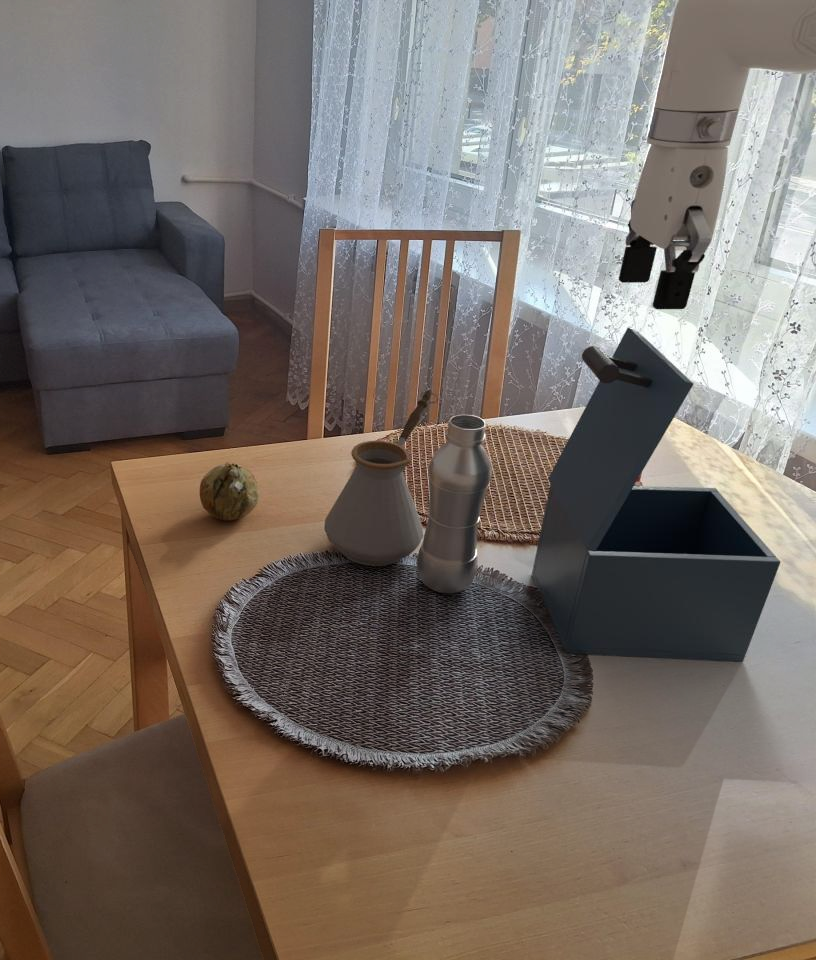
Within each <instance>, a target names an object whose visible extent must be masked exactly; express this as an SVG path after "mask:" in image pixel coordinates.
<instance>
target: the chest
mask: <svg viewBox="0 0 816 960" xmlns="http://www.w3.org/2000/svg"><path fill="white" fill-rule="evenodd" d="M780 564H781V560H779V558H778V557H777V555H776V554H775V553H774V552H773V551H772V550H771V549H770V548H769V547H768V546H767V545H766V543H765V542H764V541H763V540H762V539H761V538H760V537H759V535H758V534H757V533H756V532H755V530H753V529H752V527H751V526H749V524H748V523H747V522H746V521H745V519H744V518H743V517H742V516H741V515H740V514H739V513H738V512H737V510H735V508H734V507H733V506H732V505H731V504H730V503H729V502H728V500H727V499H726V498H725V497H724V496H723V494H722V493H720V492H719V490H718V489H717V488H716V487H691V486H690V487H689V486H688V487H687V486H686V487H685V486H649V485H639V486H633V488H632V490H631V491H630V493H629V495H628V496H627V498H626V500H625V502H624V503H623V505H622V507H621V508H620V510H619V512H618V513H617V515H616V517H615V518H614V520H613V522H612V524H611V525H610V527H609V529H608V530H607V532H606V534H605V535H604V537H603V539H602V541H601V542H600V544H599V546H598V547H597V549H596V551H595V552H593V551H589V550H587V549H586V547H585V545H584V544H583V542H582V540H581V538H580V536H579V535H578V533H577V531H576V529H575V527H574V525H573V524H572V522H571V520H570V518H569V516H568V515H567V513H566V511H565V509H564V507H563V505H562V504H561V502H560V500H559V498H558V496H557V495H556V493H555V491H554V489H553V487H552V486H551V484H550V483H549V489H548V494H547V499H546V503H545V509H544V513H543V518H542V522H541V528H540V531H539V538H538V543H537V547H536V553H535V557H534V561H533V566H532V571H531V575H532V578H533V580H534V583H535V585H536V588H537V590H538V592H539V594H540V596H541V598H542V601H543V604H544V606H545V608H546V610H547V613H548V615H549V617H550V620H551V622H552V625H553V627H554V629H555V632H556V633H557V636H558V639H559V641H560V643H561V646H562V649H563V650H564V652H565V654H571V655H593V656H611V657H612V656H614V657H633V658H634V657H637V658H656V659H657V658H659V659H661V658H662V659H678V660H679V659H682V660H699V661H701V660H702V661H721V662H722V661H724V662H744V660H745V658H746V655H747V652H748V650H749V647H750V645H751V641H752V640H753V636H754V633H755V631H756V628H757V626H758V623H759V621H760V618H761V615H762V612H763V610H764V607H765V604H766V602H767V599H768V597H769V594H770V592H771V591H770V590H771V589H772V586H773V584H774V581H775V578H776V575H777V573H778V570H779V568H780Z"/></svg>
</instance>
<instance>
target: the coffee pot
mask: <svg viewBox="0 0 816 960" xmlns="http://www.w3.org/2000/svg"><path fill="white" fill-rule="evenodd" d="M432 395H433V396H434V397H436V401H429V400H430V398H431V396H432ZM438 401H439V396H438V395H436V393H434V392H432V390H430V389H427V390H426V391H423V392H421V393H420V399H419V400H418V401H417V406H416V407H415V408H414V410H413V411H412V412H411V413H410V415H409V416H408V419H407V421H406V423H405V425H404V426H403V429H402V431H401V433H400V435H399V438H398V440H397V442H396V443H395V442H392V441H386V440H367V441H362V442H360V443H357V444H356V445H355V446H353V448H352V449H351V453H350V454H351V457H352V459H353V460H354V461H355V468H354V469H353V471H352V473H351V475H350V476H349V478H348V480H347V481H346V483H345V485H344V486H343V488H342V490H341V492H340V493H339V495H338V497H337V499H336V500H335V502H334V504H333V505H332V507H331V508H330V510H329V512H328V513H327V515H326V517H325V519H324V524H323V525H324V527H323V528H324V532H325V534H326V537H327V539H328V542H329V543H330V544H331V545H332V546H333V547H334V549H336V550H337V551H338V552H339V553H341V554H342V555H343V556H344V557H345V558H346V559H348V560H349V561H352V562H354V563H357V564H358V565H359V564H360V565H364V566H370V567H385V566H388V565H392V564H395V563H397V562H399V561H401V560H403V559H404V558H406V557H408V556H409V555H411V554H412V553H414V551H416V549H417V548H418V547H419V546H420V544H421V543H422V541H423V539H424V526H423V523H422V521H421V518H420V516H419V513H418V510H417V507H416V505H415V502H414V500H413V495H412V494H411V491H410V488H409V486H408V483H407V480H406V478H405V475H404V472H403V471H404V470H405V469H406V467H407V466H408V465H410V464H411V462H412V461H411V455H410V452H409V450H408V449H406V448H405V447H404V445H405V442H407V440H408V439H409V437H411V434H412V433H413V431H414V429H415V428H416V427H417V425H418V423H419V422H420V421H421V417H422V414H423V411H424V409H426V408H427V407H428V404H436V403H438Z"/></svg>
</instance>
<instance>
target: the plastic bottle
mask: <svg viewBox="0 0 816 960" xmlns="http://www.w3.org/2000/svg"><path fill="white" fill-rule="evenodd" d="M447 425H448V426H447V430H446V433H445V439H446V440H447V441H446V442H444V444H442V445H441V446H440V447H439V448H438V449H437V451H435V453H433V456H432V458H431V459H430V462H429V464H428V489H429V490H428V491H429V492H428V493H429V498H428V499H429V500H428V514H427V521H426V526H425V530H424V533H423V538H422V541H421V545H420V547H419V550H418V554H417V557H416V572H417V576H418V578H419V579H420V580H421V582H422V583H423V585H424V586H425V587H427V588H428V589H430V590H432V591H435V592H437V593H443V594H457V593H460V592H462V591H465V590H466V589H467V588H468V587H469V586H470V585H472V583H473V582H474V580H475V577H476V575H477V571H478V551H477V548H478V547H477V546H478V531H479V529H478V528H479V523H480V517H481V514H482V510H483V506H484V501H485V498H486V496H487V493H488V490H489V486H490V484H491V481H492V476H493V473H494V470H493V465H492V461H491V459H490V457H489V454H488V453H487V451H486V449H485V448H484V447H483V445H482V444H484V443H485V440H486V429H487V423H486V421H485V419H483V418H481V417H479V416H476V415H474V414H473V415H472V414H456V415H454V416H451V417H450V418H449V420H448V424H447Z"/></svg>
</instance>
